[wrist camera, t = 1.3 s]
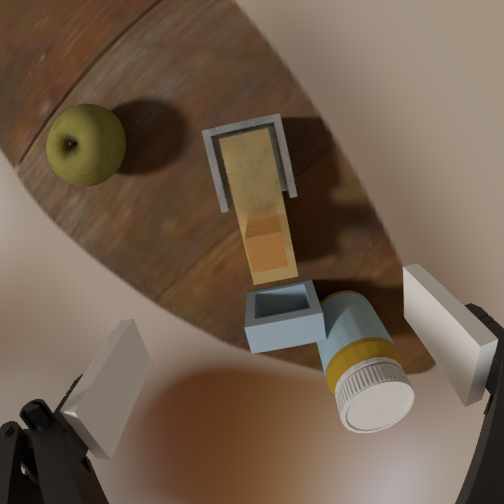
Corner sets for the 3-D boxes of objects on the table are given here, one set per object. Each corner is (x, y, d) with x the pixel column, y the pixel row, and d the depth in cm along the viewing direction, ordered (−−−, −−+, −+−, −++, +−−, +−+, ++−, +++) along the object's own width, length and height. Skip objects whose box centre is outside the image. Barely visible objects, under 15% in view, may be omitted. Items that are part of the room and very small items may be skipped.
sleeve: (210, 132, 29) (201, 131, 25) (276, 117, 29) (279, 113, 24) (227, 201, 32) (221, 212, 27) (291, 187, 31) (297, 196, 26)
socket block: (247, 292, 35) (244, 327, 28) (311, 279, 34) (322, 312, 27) (253, 315, 36) (251, 353, 29) (315, 303, 35) (326, 339, 28)
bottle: (362, 278, 34) (417, 363, 20) (375, 327, 36) (420, 417, 22) (303, 300, 35) (326, 397, 21) (320, 347, 37) (344, 445, 23)
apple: (113, 92, 28) (78, 83, 21) (152, 151, 30) (123, 155, 23) (64, 138, 29) (25, 141, 23) (100, 194, 31) (65, 209, 25)
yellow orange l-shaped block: (224, 139, 29) (209, 138, 20) (266, 130, 28) (269, 124, 20) (254, 268, 33) (252, 313, 24) (293, 260, 32) (305, 303, 24)
